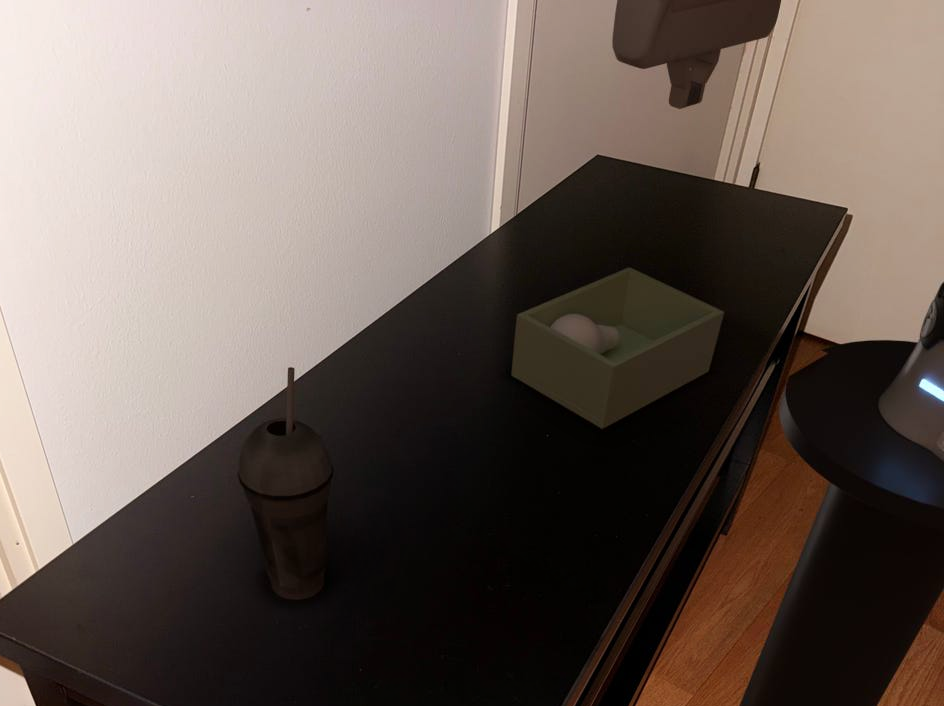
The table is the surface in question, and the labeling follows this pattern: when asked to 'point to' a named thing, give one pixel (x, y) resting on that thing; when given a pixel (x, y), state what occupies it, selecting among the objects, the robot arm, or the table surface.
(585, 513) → the table surface
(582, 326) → the lightbulb
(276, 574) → the beverage cup
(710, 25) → the robot arm
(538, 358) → the bin
